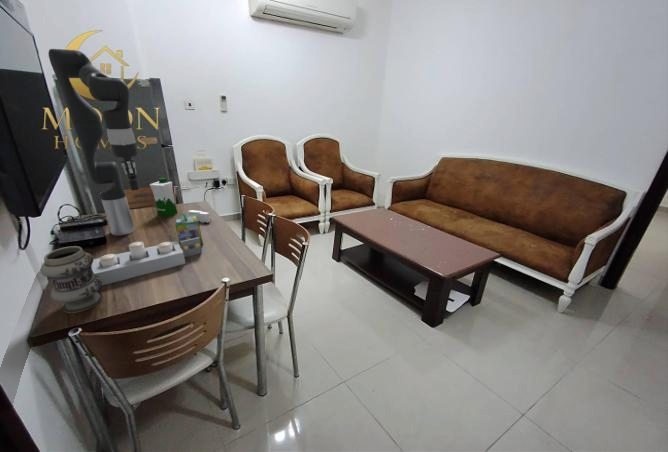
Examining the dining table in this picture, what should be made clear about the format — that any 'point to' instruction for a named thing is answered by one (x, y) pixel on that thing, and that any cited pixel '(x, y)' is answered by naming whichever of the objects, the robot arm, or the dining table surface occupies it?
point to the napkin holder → (200, 215)
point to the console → (138, 264)
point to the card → (191, 247)
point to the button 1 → (108, 260)
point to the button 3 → (165, 247)
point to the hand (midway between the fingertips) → (134, 189)
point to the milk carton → (164, 197)
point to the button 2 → (137, 250)
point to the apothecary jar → (72, 278)
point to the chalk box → (188, 228)
